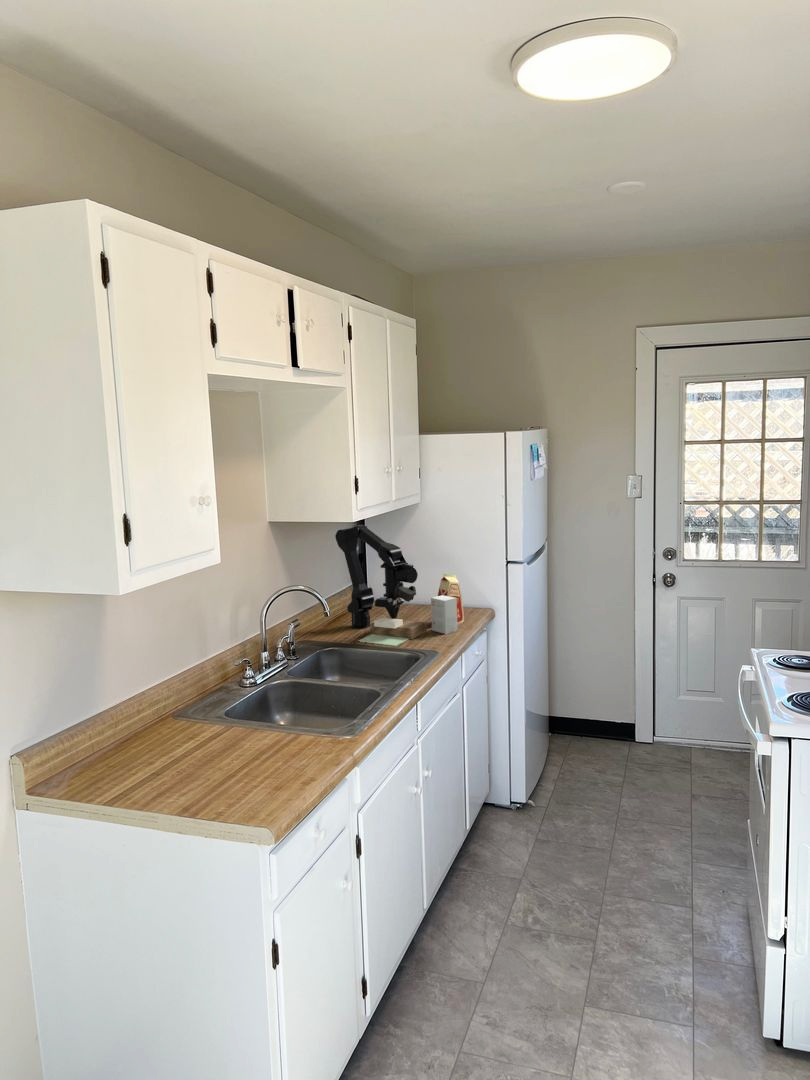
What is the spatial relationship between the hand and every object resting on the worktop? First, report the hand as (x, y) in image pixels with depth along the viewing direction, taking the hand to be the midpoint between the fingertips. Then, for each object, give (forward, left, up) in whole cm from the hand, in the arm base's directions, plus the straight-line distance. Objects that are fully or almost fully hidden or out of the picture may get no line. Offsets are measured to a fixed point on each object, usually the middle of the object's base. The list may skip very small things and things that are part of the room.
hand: (394, 620), depth 305 cm
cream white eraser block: (0, -4, -1) cm, 4 cm away
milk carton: (+12, +23, -5) cm, 27 cm away
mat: (+1, -10, -5) cm, 11 cm away
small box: (+16, +10, -5) cm, 20 cm away
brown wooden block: (+1, 0, -5) cm, 5 cm away
